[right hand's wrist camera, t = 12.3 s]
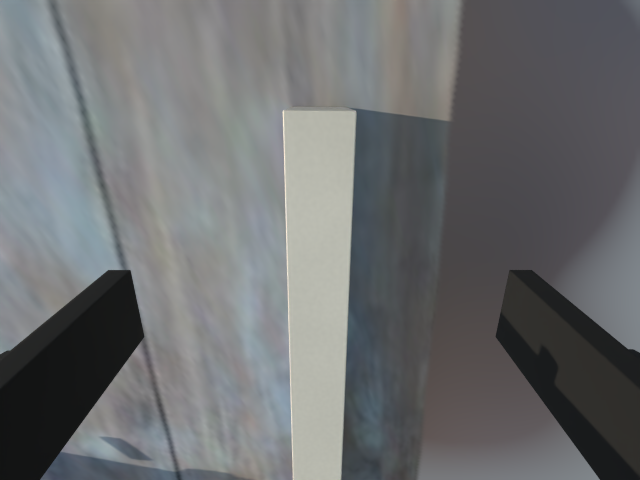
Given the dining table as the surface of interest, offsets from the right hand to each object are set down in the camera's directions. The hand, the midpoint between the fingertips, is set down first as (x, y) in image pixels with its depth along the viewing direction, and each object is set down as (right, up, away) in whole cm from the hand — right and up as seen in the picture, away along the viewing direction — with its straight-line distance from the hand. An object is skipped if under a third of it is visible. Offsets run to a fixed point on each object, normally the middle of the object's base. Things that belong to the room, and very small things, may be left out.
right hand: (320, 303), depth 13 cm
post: (0, -18, +32) cm, 36 cm away
